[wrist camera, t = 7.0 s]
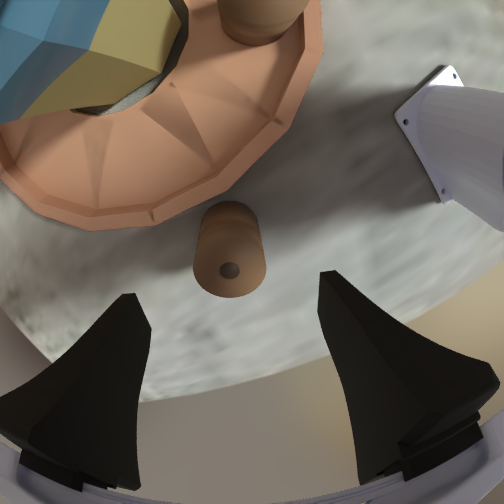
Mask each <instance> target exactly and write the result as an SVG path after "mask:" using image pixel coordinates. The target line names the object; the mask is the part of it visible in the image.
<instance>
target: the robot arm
mask: <svg viewBox="0 0 504 504" xmlns="http://www.w3.org/2000/svg"><path fill="white" fill-rule="evenodd" d="M452 74H453V76H452ZM394 116H395V120H396V121H397V123H398V124H399V126H400V127H401V129H402V130H403V132H404V134H405V135H406V137H407V138H408V140H409V142H410V143H411V145H412V147H413V148H414V150H415V152H416V153H417V155H418V157H419V159H420V160H421V162H422V164H423V166H424V168H425V170H426V171H427V173H428V175H429V177H430V179H431V181H432V183H433V185H434V187H435V189H436V191H437V193H438V195H439V198H440V200H441V202H442V203H443V204H445V205H447V204H448V203H449V202H450V201H451V200H452V199H454V200H455V201H457V202H458V203H460V204H461V205H463V206H464V207H466V208H467V209H468V210H470V211H471V212H473V213H474V214H476V215H477V216H478V217H480V218H481V219H482V220H484V221H485V222H487V223H488V224H489V225H490V226H492V227H493V228H495V229H496V230H499V231H501V232H504V93H501V92H495V91H490V90H484V89H478V88H471V87H464V86H463V84H462V82H461V80H460V78H459V77H458V75H457V73H456V71H455V69H454V68H453V67H452V66H451V65H446V66H445V67H444V68H443V69H442V70H440V71H439V72H438V73H437V74H436V75H435V76H434V77H433V78H432V79H431V80H429V81H428V82H427V83H426V84H425V85H424V86H423V87H422V88H421V89H420V90H418V91H417V92H416V93H415V94H414V95H413V96H412V97H411V98H410V99H409V100H407V101H406V102H405V103H404V104H403V105H402V106H401V107H400V108H399V109H398V110H397V111H396V112H395V115H394ZM404 119H405V120H406V124H405V125H404V123H403V121H404ZM442 189H443V191H442ZM441 191H442V192H441ZM317 312H318V316H319V320H320V324H321V328H322V332H323V335H324V338H325V340H326V343H327V346H328V348H329V351H330V353H331V356H332V359H333V361H334V364H335V366H336V369H337V372H338V374H339V377H340V380H341V383H342V386H343V390H344V393H345V398H346V402H347V407H348V411H349V416H350V421H351V426H352V431H353V438H354V444H355V452H356V460H357V469H358V470H357V471H358V479H359V483H360V486H358V487H355V488H351V489H348V490H344V491H340V492H336V493H332V494H328V495H323V496H319V497H314V498H309V499H303V500H296V501H290V502H283V503H273V504H360V503H363V502H366V503H365V504H477V503H478V502H479V501H480V500H481V499H482V498H483V497H484V496H485V495H487V493H489V492H490V491H491V490H492V489H493V488H494V487H495V486H496V485H497V484H498V483H499V482H500V481H502V480H503V479H504V409H503V410H501V411H500V412H499V413H497V414H496V415H495V416H493V417H492V418H491V419H489V420H488V421H487V422H485V423H484V424H483V425H482V426H480V427H479V425H478V423H477V421H478V420H480V414H479V412H478V410H479V409H480V408H481V407H482V406H483V405H484V404H485V403H486V402H487V401H488V400H489V399H490V398H491V397H492V396H493V395H494V394H495V392H496V391H497V390H498V389H499V386H500V381H499V379H498V377H497V376H496V374H495V372H494V371H493V369H492V367H491V366H490V364H489V363H487V362H484V361H481V360H478V359H475V358H471V357H468V356H465V355H462V354H460V353H457V352H455V351H452V350H450V349H447V348H445V347H443V346H441V345H439V344H437V343H435V342H433V341H431V340H429V339H427V338H425V337H423V336H422V335H420V334H418V333H416V332H415V331H413V330H411V329H409V328H408V327H407V326H405V325H404V324H402V323H400V322H399V321H397V320H396V319H394V318H393V317H392V316H390V315H389V314H388V313H386V312H385V311H384V310H382V309H381V308H380V307H378V306H377V305H376V304H374V303H373V302H372V301H371V300H369V299H368V298H367V297H366V296H365V295H363V294H362V293H361V292H360V291H359V290H358V289H356V288H355V287H354V286H353V285H352V284H351V283H350V282H348V281H347V280H346V279H345V278H344V277H343V276H342V275H340V274H339V273H338V272H337V271H336V270H333V271H326V272H320V281H319V297H318V310H317ZM151 330H152V329H151V327H150V324H149V322H148V320H147V318H146V316H145V314H144V312H143V310H142V307H141V305H140V303H139V301H138V298H137V296H136V294H135V293H129V294H122V295H121V296H120V297H119V298H117V299H116V300H115V301H114V302H113V303H112V305H111V306H110V307H109V308H108V309H107V310H106V311H105V312H104V313H103V314H102V315H101V316H100V317H99V318H98V320H97V321H96V322H95V323H94V324H93V325H92V326H91V327H90V328H89V329H88V330H87V331H86V332H85V333H84V334H83V335H82V336H81V337H80V338H79V339H78V341H77V342H76V343H75V344H74V345H73V346H72V347H71V348H70V349H68V350H67V351H66V352H65V353H64V354H63V355H62V356H61V357H60V358H58V359H57V360H56V361H55V362H54V363H53V364H51V365H50V366H49V367H48V368H46V369H45V370H44V371H42V372H41V373H40V374H38V375H37V376H36V377H34V378H33V379H31V380H30V381H28V382H27V383H25V384H23V385H22V386H20V387H18V388H17V389H15V390H13V391H11V392H9V393H7V394H5V395H3V396H1V397H0V434H2V435H3V436H4V437H6V438H7V439H8V440H10V441H11V442H13V443H14V444H16V445H17V446H19V447H20V448H21V449H22V451H21V454H20V453H19V452H17V451H15V450H14V449H12V448H10V447H9V446H7V445H5V444H4V443H0V494H1V495H2V496H4V497H5V498H6V499H7V500H8V501H10V502H11V503H12V504H179V503H171V502H163V501H156V500H150V499H145V498H139V497H134V496H130V495H125V494H121V493H117V492H113V491H109V490H107V487H110V488H113V489H116V487H120V488H124V489H128V490H133V491H135V490H137V489H139V488H140V487H141V483H140V477H139V469H138V461H137V442H136V441H137V436H136V435H137V433H136V432H137V410H138V401H139V395H140V390H141V385H142V381H143V376H144V372H145V368H146V363H147V359H148V354H149V349H150V340H151ZM376 480H377V481H376ZM373 481H374V482H373ZM370 482H371V483H370ZM367 483H368V484H367ZM364 484H365V485H364Z"/></svg>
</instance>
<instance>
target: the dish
mask: <svg viewBox="0 0 504 504" xmlns="http://www.w3.org/2000/svg"><path fill="white" fill-rule="evenodd" d="M183 1H184V2H185V4H186V6H187V7H188V9H189V37H188V40H187V42H186V44H185V46H184V49H183V51H182V53H181V56H180V58H179V60H178V63H177V65H176V67H175V68H174V69H173V70H172V71H171V72H170V74H169V75H168V76H167V77H166V78H165V79H164V80H163V82H162V83H161V84H160V85H159V86H158V87H157V89H156V90H155V91H154V92H153V93H152V94H150V95H148V96H147V97H145V98H143V99H142V100H140V101H139V102H137V103H135V104H134V105H132V106H131V107H129V108H128V109H126V110H124V111H119V112H115V113H111V114H107V115H103V116H100V115H95V114H89V113H83V112H78V111H77V110H76V109H68V110H62V111H56V112H51V113H46V114H41V115H36V116H32V117H27V118H23V119H19V120H15V121H12V122H8V123H5V124H1V125H0V179H1V180H2V181H3V182H4V183H5V184H6V185H7V186H8V187H9V188H10V189H11V190H12V191H13V192H14V193H15V194H16V195H17V196H18V197H19V198H20V199H21V200H23V201H24V202H25V203H26V204H27V205H28V206H29V207H30V208H31V209H32V210H33V211H35V212H36V213H37V214H40V215H43V216H45V217H48V218H51V219H54V220H57V221H60V222H63V223H66V224H69V225H72V226H75V227H78V228H81V229H84V230H87V231H98V230H109V229H119V228H131V227H143V226H155V225H157V224H159V223H161V222H163V221H165V220H167V219H169V218H171V217H173V216H175V215H177V214H179V213H181V212H183V211H185V210H187V209H189V208H191V207H193V206H196V205H198V204H200V203H202V202H204V201H206V200H208V199H210V198H212V197H215V196H217V195H219V194H221V193H223V192H225V191H227V190H228V189H229V188H230V187H231V186H232V185H233V184H234V183H235V182H236V181H237V180H238V179H239V178H240V177H241V176H242V175H243V174H244V173H245V172H246V171H247V170H248V169H249V168H250V167H251V166H252V165H253V164H254V163H255V162H256V161H257V160H258V159H259V158H260V157H261V156H262V155H263V154H264V153H265V152H266V151H267V150H268V149H269V148H270V147H271V146H272V145H273V144H274V143H275V142H276V141H277V140H278V139H279V138H280V137H281V136H282V135H283V134H284V133H285V132H286V131H288V130H289V129H290V126H291V124H292V122H293V119H294V117H295V115H296V113H297V110H298V108H299V106H300V104H301V101H302V99H303V97H304V95H305V92H306V90H307V88H308V86H309V83H310V81H311V79H312V77H313V75H314V72H315V70H316V68H317V66H318V64H319V61H320V59H321V57H322V55H323V41H322V20H321V5H320V0H310V1H309V3H308V5H307V7H306V8H305V9H304V10H303V12H302V13H301V14H300V15H299V16H298V18H297V19H296V20H295V21H294V22H293V24H292V25H291V26H290V27H289V29H288V30H287V31H286V33H285V34H284V35H283V36H282V37H281V38H280V39H279V40H277V41H275V42H274V43H271V44H268V45H265V46H247V45H243V44H240V43H238V42H235V41H234V40H232V39H231V38H230V37H228V36H227V35H226V33H225V32H224V30H223V29H222V26H221V22H220V16H219V10H218V4H217V0H183Z"/></svg>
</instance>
